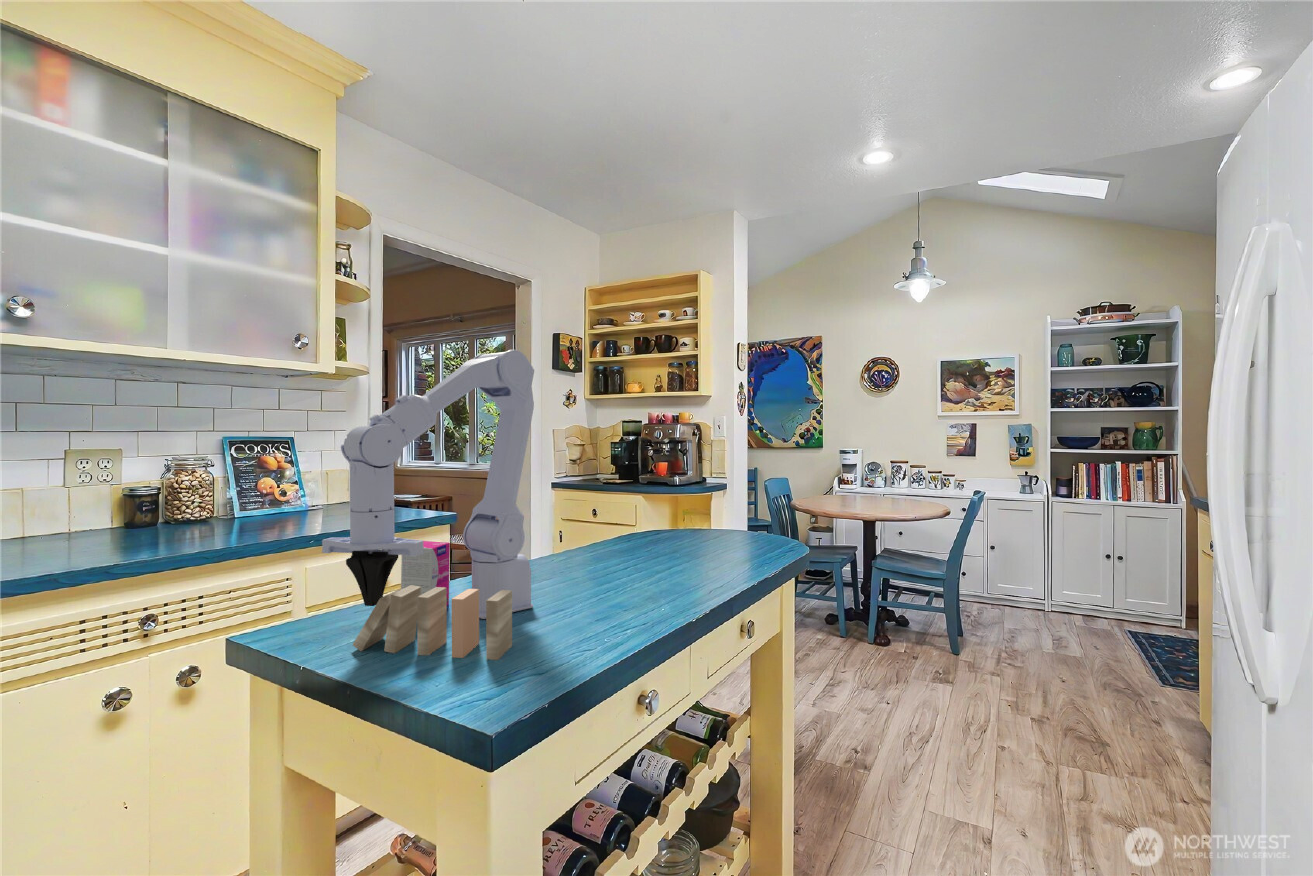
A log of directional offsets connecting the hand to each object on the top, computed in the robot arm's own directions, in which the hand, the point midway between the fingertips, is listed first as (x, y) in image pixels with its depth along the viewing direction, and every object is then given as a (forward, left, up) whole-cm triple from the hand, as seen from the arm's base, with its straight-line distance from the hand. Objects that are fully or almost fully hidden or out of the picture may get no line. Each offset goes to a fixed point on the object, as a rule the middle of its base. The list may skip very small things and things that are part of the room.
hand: (373, 604), depth 83 cm
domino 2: (-3, +3, -6) cm, 7 cm away
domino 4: (-9, +11, -6) cm, 15 cm away
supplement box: (-11, -10, -6) cm, 16 cm away
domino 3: (-6, +7, -6) cm, 11 cm away
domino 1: (+1, -1, -6) cm, 6 cm away
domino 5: (-12, +15, -6) cm, 20 cm away
